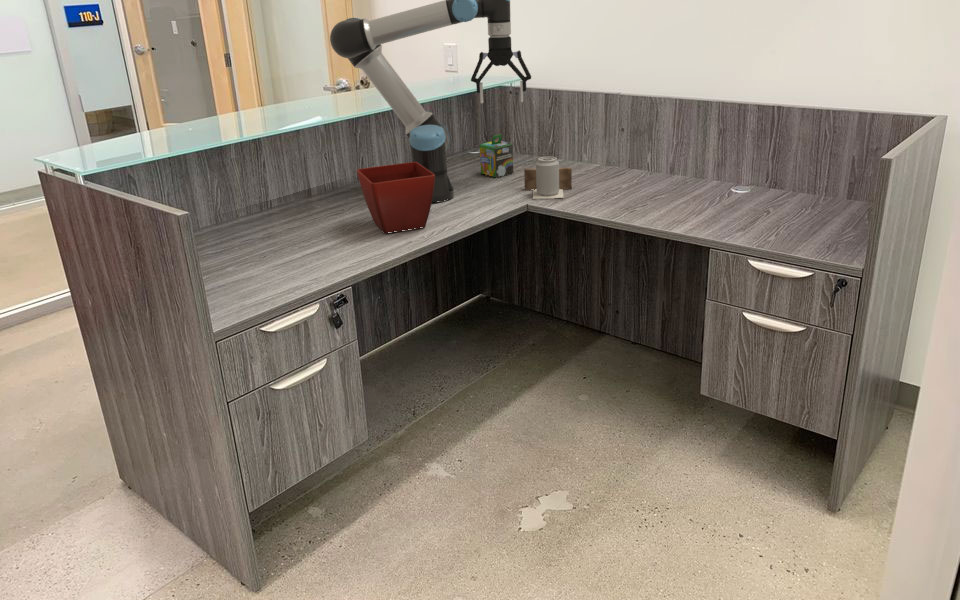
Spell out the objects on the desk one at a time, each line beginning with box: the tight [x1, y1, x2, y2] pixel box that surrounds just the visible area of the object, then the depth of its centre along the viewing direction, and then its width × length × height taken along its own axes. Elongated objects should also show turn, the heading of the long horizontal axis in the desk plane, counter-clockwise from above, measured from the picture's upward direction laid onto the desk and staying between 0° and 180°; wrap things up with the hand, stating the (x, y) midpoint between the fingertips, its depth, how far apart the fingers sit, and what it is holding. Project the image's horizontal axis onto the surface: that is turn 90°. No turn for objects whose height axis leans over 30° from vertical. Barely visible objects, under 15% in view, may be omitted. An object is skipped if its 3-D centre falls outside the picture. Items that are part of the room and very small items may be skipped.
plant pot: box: [356, 161, 435, 234], centre depth 228 cm, size 19×19×17 cm
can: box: [535, 155, 560, 196], centre depth 252 cm, size 8×8×12 cm
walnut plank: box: [523, 167, 573, 191], centre depth 261 cm, size 16×2×7 cm, turn 85°
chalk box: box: [479, 133, 514, 178], centre depth 282 cm, size 9×9×15 cm
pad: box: [532, 189, 564, 200], centre depth 255 cm, size 10×10×1 cm
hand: (501, 102), depth 258 cm, fingers open, 13 cm apart
